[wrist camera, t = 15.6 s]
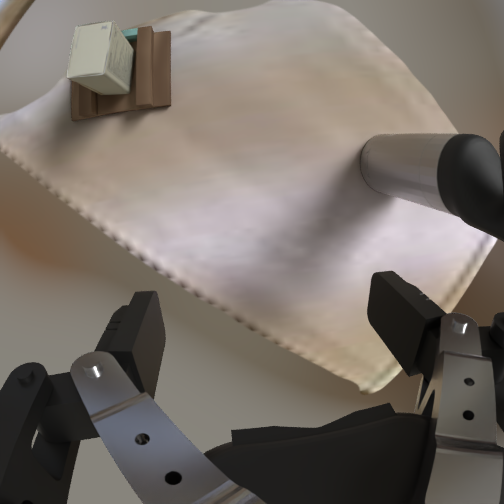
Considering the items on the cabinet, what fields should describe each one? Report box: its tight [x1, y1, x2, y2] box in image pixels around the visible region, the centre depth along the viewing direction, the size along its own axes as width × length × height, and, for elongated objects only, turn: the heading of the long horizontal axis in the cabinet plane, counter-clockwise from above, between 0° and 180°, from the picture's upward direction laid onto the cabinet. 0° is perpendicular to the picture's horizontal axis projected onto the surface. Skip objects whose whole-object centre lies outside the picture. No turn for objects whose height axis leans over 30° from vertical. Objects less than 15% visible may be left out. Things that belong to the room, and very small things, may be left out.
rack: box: [71, 26, 171, 121], centre depth 32 cm, size 14×11×4 cm
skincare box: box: [67, 21, 136, 95], centre depth 27 cm, size 6×4×12 cm
